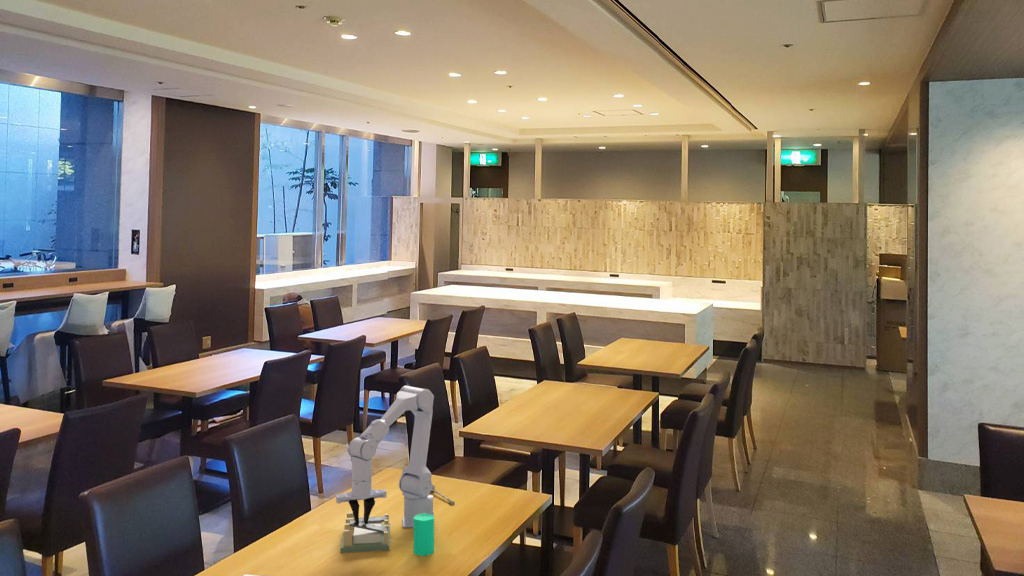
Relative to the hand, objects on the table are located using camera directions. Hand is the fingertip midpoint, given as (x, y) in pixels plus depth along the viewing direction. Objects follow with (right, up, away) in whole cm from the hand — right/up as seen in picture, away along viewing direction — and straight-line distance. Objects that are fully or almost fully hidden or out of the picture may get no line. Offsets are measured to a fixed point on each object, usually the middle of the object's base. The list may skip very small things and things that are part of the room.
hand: (361, 523), depth 223 cm
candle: (+19, -8, -3) cm, 20 cm away
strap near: (+2, -1, 0) cm, 2 cm away
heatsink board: (0, -7, +5) cm, 8 cm away
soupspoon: (+18, -4, +44) cm, 47 cm away
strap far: (0, -2, +9) cm, 10 cm away
